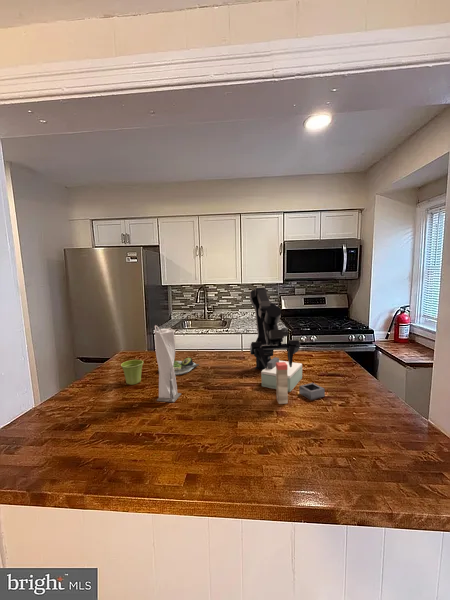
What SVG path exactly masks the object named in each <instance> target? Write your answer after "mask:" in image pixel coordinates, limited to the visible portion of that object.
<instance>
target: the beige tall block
mask: <svg viewBox="0 0 450 600" xmlns="http://www.w3.org/2000/svg"><path fill="white" fill-rule="evenodd" d="M287 370H288V368H287V364H286V363H285V362H277V363H276V389H275V390H276V401H277V403H278V404H279V405H283V404H289V402H288V401H289V400H288V399H289V398H288V397H289V396H288V395H289V394H288V393H289V392H288V382H287Z"/></svg>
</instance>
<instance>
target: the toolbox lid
mask: <svg viewBox="0 0 450 600" xmlns="http://www.w3.org/2000/svg"><path fill="white" fill-rule="evenodd" d="M271 359H272V360H270V361H269V362H268V363H267V369H266V368H265V369H264V370H260V373H261V374H266V375H272V376H276V363H277V362H285V363H286V364H287V368H288V370H287V378H289V379H290V378H291V377H292V376H293V375H294V374H295V373H296V372H297V371H298V370H299V369H300V368H301V367H302V368H303V363H300V362H293V361H292V367H290V365H289V361H287V360H280V358H279V357H273V358H271Z"/></svg>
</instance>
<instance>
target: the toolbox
mask: <svg viewBox="0 0 450 600" xmlns="http://www.w3.org/2000/svg"><path fill="white" fill-rule="evenodd" d="M260 376H261V378H260V379H261V387H264V388H269V389H275V390H276V376H272V375H266V374H261V375H260ZM302 379H303V366H302V367H301V368H300V369H299V370H298V371H297V372H296V373H295V374H294V375H293V376H292V377H291V378H290V379H289V378H287V382H288V393H290V392H292V391H293V389H294V388H295V387H296V386H297V385H298V384H299V383H300V382H301V380H302Z"/></svg>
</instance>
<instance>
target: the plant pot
mask: <svg viewBox="0 0 450 600" xmlns="http://www.w3.org/2000/svg"><path fill="white" fill-rule="evenodd" d="M143 365H144V361H143V360H142V359H131V360H126V361H124V362H121V364H120V367H121V368H122V370H123V374H124V378H125V382H126V384H127V385H131V386H132V385H137V384H139V383H141V381H142V370H143Z"/></svg>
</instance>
